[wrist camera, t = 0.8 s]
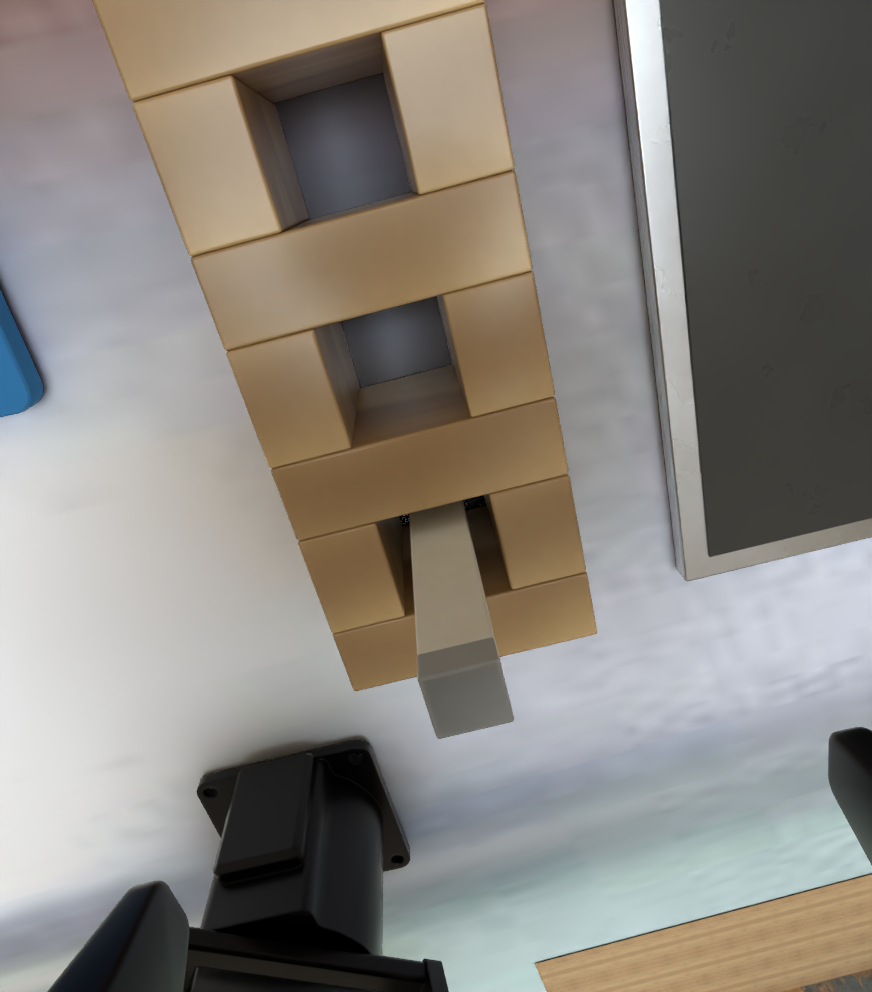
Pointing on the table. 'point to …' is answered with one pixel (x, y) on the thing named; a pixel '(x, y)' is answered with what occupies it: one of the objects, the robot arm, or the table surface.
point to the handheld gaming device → (15, 368)
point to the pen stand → (369, 302)
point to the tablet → (756, 267)
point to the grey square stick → (454, 626)
